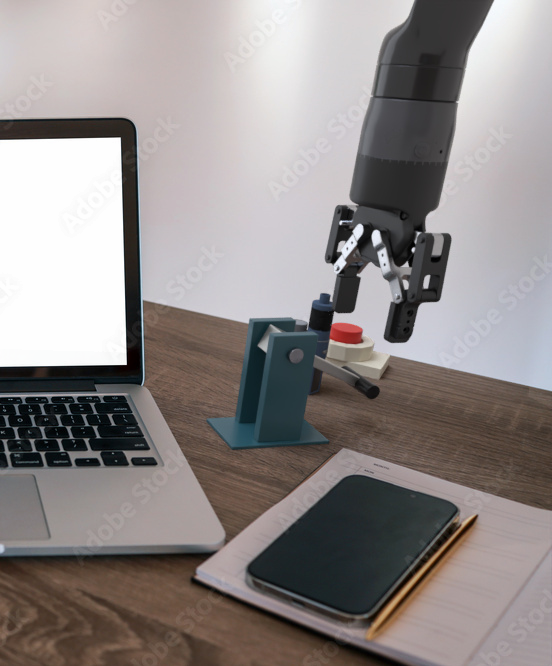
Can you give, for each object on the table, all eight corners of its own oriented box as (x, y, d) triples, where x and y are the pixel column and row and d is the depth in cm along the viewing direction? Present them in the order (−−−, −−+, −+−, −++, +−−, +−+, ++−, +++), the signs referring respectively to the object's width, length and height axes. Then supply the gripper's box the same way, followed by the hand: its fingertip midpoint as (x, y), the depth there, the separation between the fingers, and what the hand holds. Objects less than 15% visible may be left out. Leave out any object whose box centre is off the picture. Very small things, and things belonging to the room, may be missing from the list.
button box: (387, 370, 95) (393, 340, 94) (377, 387, 90) (383, 355, 88) (305, 351, 100) (310, 322, 98) (291, 366, 95) (296, 335, 93)
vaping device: (310, 404, 84) (329, 299, 80) (269, 388, 88) (286, 286, 84) (323, 399, 86) (342, 295, 82) (283, 383, 89) (299, 283, 85)
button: (363, 340, 94) (366, 326, 93) (356, 348, 91) (359, 334, 91) (333, 333, 96) (335, 320, 95) (325, 341, 93) (328, 327, 92)
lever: (342, 384, 78) (355, 364, 78) (371, 405, 74) (385, 384, 73) (249, 340, 74) (262, 319, 74) (275, 360, 70) (289, 337, 69)
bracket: (295, 423, 79) (314, 314, 75) (327, 451, 74) (349, 335, 70) (204, 429, 77) (219, 317, 73) (230, 458, 72) (248, 339, 68)
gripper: (499, 165, 63) (452, 352, 68) (390, 144, 76) (358, 302, 81) (418, 162, 61) (377, 354, 66) (321, 142, 74) (293, 304, 79)
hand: (367, 326), depth 74 cm, fingers open, 8 cm apart
